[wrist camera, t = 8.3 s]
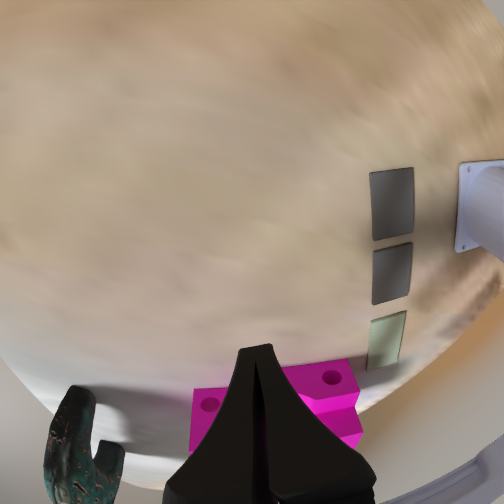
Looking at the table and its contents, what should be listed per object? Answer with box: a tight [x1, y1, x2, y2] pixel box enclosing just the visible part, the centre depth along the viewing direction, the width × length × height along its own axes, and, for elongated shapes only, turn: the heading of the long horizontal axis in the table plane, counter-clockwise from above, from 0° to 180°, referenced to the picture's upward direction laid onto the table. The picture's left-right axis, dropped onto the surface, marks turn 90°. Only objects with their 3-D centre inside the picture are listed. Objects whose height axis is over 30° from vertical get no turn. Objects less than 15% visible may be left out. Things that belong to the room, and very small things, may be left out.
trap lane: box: [366, 168, 413, 372], centre depth 24 cm, size 21×29×2 cm
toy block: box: [189, 358, 363, 454], centre depth 23 cm, size 15×6×8 cm, turn 93°
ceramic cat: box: [43, 386, 125, 504], centre depth 21 cm, size 20×6×20 cm, turn 173°
